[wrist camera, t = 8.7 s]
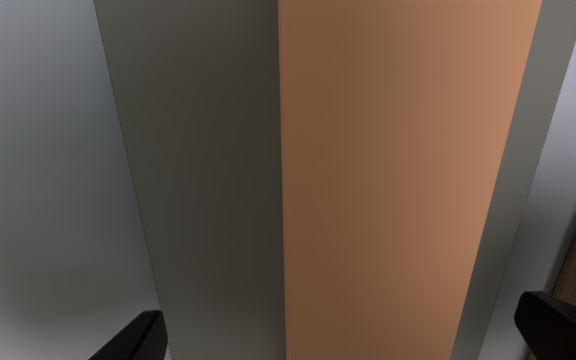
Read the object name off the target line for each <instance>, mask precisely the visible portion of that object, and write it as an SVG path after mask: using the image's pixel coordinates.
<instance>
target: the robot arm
mask: <svg viewBox="0 0 576 360" xmlns="http://www.w3.org/2000/svg"><path fill="white" fill-rule="evenodd" d="M514 321H515V324H516V326H517V328H518V330H519V331H520V333H521V335H522V336H523V338H524V340H525V341H526V343H527V345H528V346H529V348H530V350H531V351H532V353H533V355H534V356H535V358H536V360H576V306H573V305H571V304H569V303H567V302H565V301H563V300H561V299H558V298H556V297H554V296H552V295H550V294H548V293H546V292H543V291H526V292H524V293H523V294H522V295H521V297H520V300H519V303H518V305H517V308H516V311H515V314H514ZM167 343H168V334H167V329H166V325H165V320H164V315H163V313H162V311H160V310H149V311H144V312H142V313H140V314H139V315H138V316H137V317H136V318H135V319H134V320H133V321H131V322H130V323H129V324H128V325H127V326H126V327H125V328H123V329H122V330H121V331H120V332H119V333H118V334H117V335H116V336H114V337H113V338H112V339H111V340H110V341H109V342H108V343H106V344H105V345H104V346H103V347H102V348H101V349H100V350H99V351H97V352H96V353H95V354H94V355H93V356H92V357H91V358H89V359H88V360H164V357H165V353H166V349H167Z"/></svg>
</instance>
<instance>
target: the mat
mask: <svg viewBox="0 0 576 360" xmlns="http://www.w3.org/2000/svg"><path fill="white" fill-rule="evenodd" d="M93 1H94V5H95V10H96V15H97V19H98V24H99V28H100V33H101V37H102V42H103V47H104V51H105V56H106V60H107V65H108V69H109V74H110V79H111V83H112V88H113V92H114V97H115V101H116V106H117V110H118V115H119V120H120V124H121V129H122V133H123V138H124V142H125V147H126V152H127V156H128V161H129V165H130V170H131V174H132V179H133V184H134V188H135V193H136V197H137V202H138V206H139V211H140V216H141V220H142V225H143V229H144V234H145V238H146V243H147V248H148V252H149V257H150V261H151V266H152V270H153V275H154V280H155V284H156V289H157V293H158V298H159V302H160V307H161V311H162V313H163V315H164V320H165V325H166V329H167V334H168V344H169V348H170V353H171V357H172V360H286V325H285V283H284V241H283V198H282V156H281V114H280V72H279V29H278V0H93ZM575 41H576V0H542V4H541V8H540V12H539V15H538V19H537V23H536V27H535V31H534V35H533V39H532V43H531V46H530V50H529V54H528V58H527V62H526V66H525V70H524V74H523V77H522V81H521V85H520V89H519V93H518V97H517V101H516V105H515V108H514V112H513V116H512V120H511V124H510V128H509V132H508V136H507V139H506V143H505V147H504V151H503V155H502V159H501V163H500V166H499V170H498V174H497V178H496V182H495V186H494V190H493V194H492V197H491V201H490V205H489V209H488V213H487V217H486V221H485V225H484V228H483V232H482V236H481V240H480V244H479V248H478V252H477V256H476V259H475V263H474V267H473V271H472V275H471V279H470V283H469V287H468V290H467V294H466V298H465V302H464V306H463V310H462V314H461V318H460V321H459V325H458V329H457V333H456V337H455V341H454V345H453V349H452V352H451V356H450V360H477V359H478V356H479V353H480V350H481V346H482V343H483V340H484V337H485V334H486V330H487V327H488V324H489V321H490V317H491V314H492V311H493V308H494V304H495V301H496V298H497V295H498V291H499V288H500V285H501V282H502V278H503V275H504V272H505V269H506V265H507V262H508V259H509V256H510V252H511V249H512V246H513V243H514V239H515V236H516V233H517V230H518V226H519V223H520V220H521V217H522V213H523V210H524V207H525V204H526V200H527V197H528V194H529V191H530V187H531V184H532V181H533V178H534V174H535V171H536V168H537V165H538V161H539V158H540V155H541V152H542V148H543V145H544V142H545V139H546V136H547V132H548V129H549V126H550V123H551V119H552V116H553V113H554V110H555V106H556V103H557V100H558V97H559V93H560V90H561V87H562V84H563V80H564V77H565V74H566V71H567V67H568V64H569V61H570V58H571V54H572V51H573V48H574V45H575Z"/></svg>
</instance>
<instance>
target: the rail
mask: <svg viewBox="0 0 576 360" xmlns="http://www.w3.org/2000/svg"><path fill="white" fill-rule="evenodd" d="M541 4H542V0H278V29H279V72H280V114H281V156H282V198H283V241H284V283H285V325H286V360H450V356H451V352H452V349H453V345H454V341H455V337H456V333H457V329H458V325H459V321H460V318H461V314H462V310H463V306H464V302H465V298H466V294H467V290H468V287H469V283H470V279H471V275H472V271H473V267H474V263H475V259H476V256H477V252H478V248H479V244H480V240H481V236H482V232H483V228H484V225H485V221H486V217H487V213H488V209H489V205H490V201H491V197H492V194H493V190H494V186H495V182H496V178H497V174H498V170H499V166H500V163H501V159H502V155H503V151H504V147H505V143H506V139H507V136H508V132H509V128H510V124H511V120H512V116H513V112H514V108H515V105H516V101H517V97H518V93H519V89H520V85H521V81H522V77H523V74H524V70H525V66H526V62H527V58H528V54H529V50H530V46H531V43H532V39H533V35H534V31H535V27H536V23H537V19H538V15H539V12H540V8H541Z"/></svg>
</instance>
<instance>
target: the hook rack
mask: <svg viewBox="0 0 576 360" xmlns="http://www.w3.org/2000/svg"><path fill="white" fill-rule="evenodd" d="M552 296H554V297H556V298H558V299H561V300H563V301H565V302H567V303H569V304H571V305H573V306H576V236H575V238H574V241H573V243H572V246H571V248H570V251H569V253H568V256H567V258H566V261H565V264H564V266H563V269H562V271H561V274H560V276H559V279H558V281H557V284H556V286H555V289H554V292H553V294H552ZM527 360H536V358H535V356H534V355H533V353H532V351H531V350H530V353H529V355H528V358H527Z"/></svg>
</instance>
